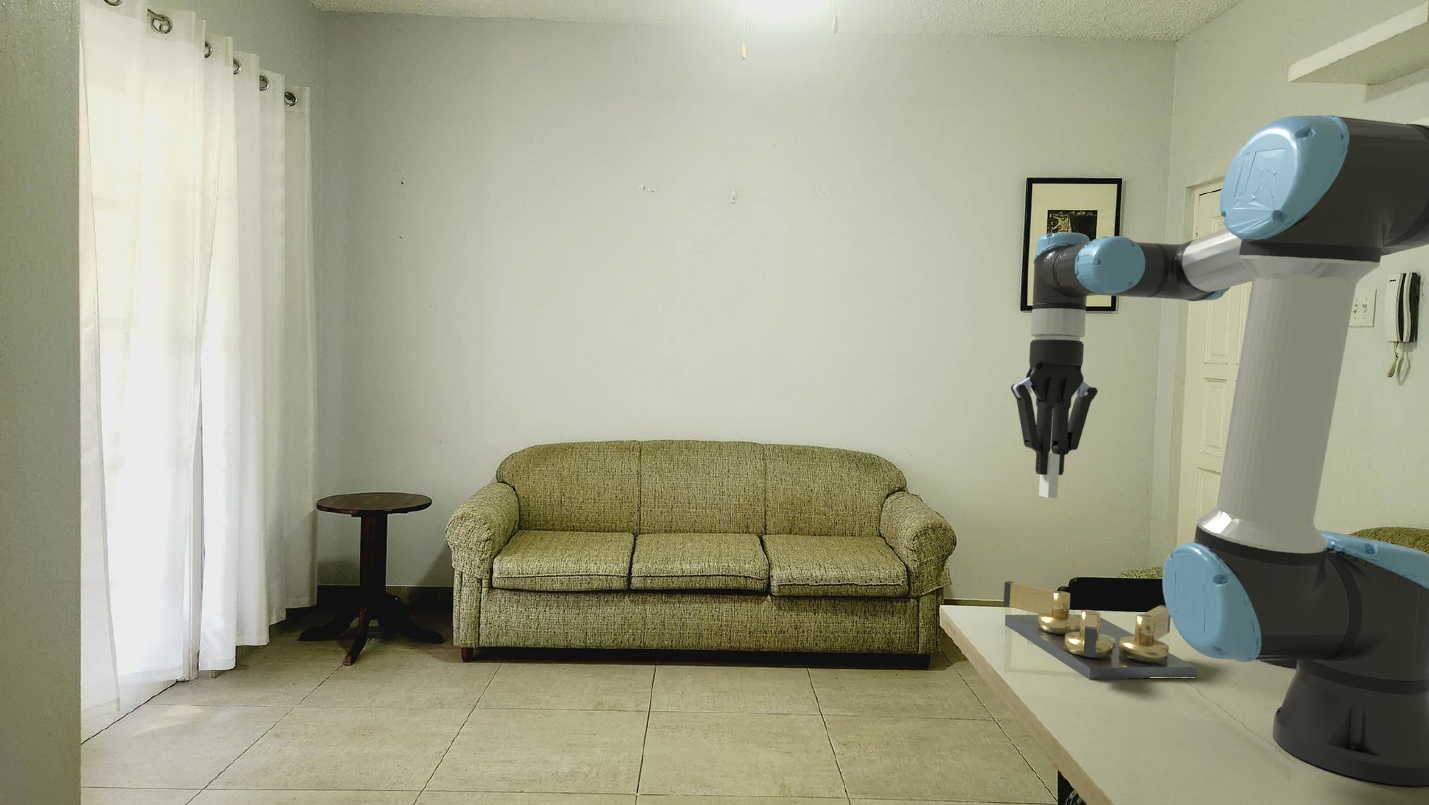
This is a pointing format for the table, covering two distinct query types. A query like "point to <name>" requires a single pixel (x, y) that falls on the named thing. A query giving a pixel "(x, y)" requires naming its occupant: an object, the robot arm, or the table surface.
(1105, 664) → the levelling plate
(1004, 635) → the table surface
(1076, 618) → the brass knob
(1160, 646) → the brass knob
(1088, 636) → the brass knob
